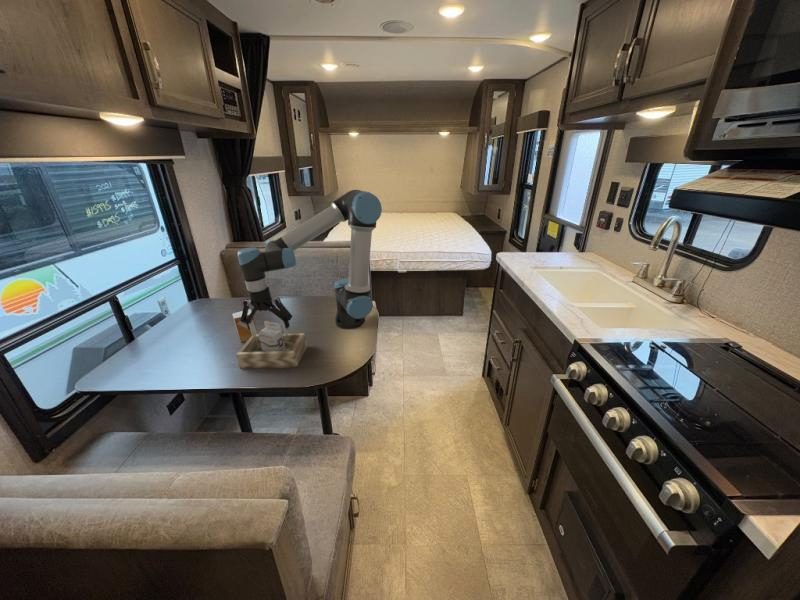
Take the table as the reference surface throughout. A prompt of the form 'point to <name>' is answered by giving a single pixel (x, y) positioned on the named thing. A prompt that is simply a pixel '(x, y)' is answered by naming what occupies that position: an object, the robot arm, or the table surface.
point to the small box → (243, 326)
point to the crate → (272, 353)
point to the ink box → (271, 337)
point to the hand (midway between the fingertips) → (271, 335)
